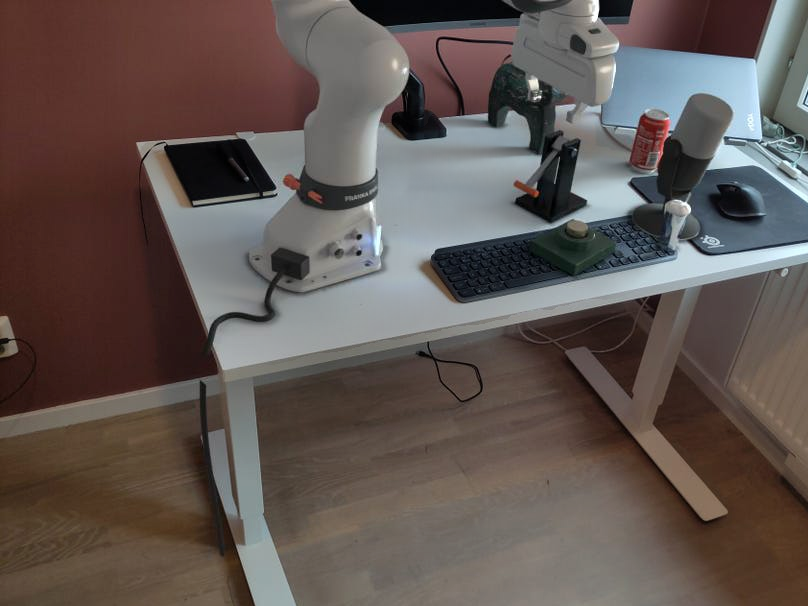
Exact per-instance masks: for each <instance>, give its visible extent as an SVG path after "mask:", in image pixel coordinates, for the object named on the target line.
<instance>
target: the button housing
mask: <svg viewBox="0 0 808 606" xmlns="http://www.w3.org/2000/svg"><path fill="white" fill-rule="evenodd" d="M572 220H575V219H574V218H572V219H570V220H568V221H566V222H564V223H562V224H560V225H557V226H556V227H554V228H552V229H550V230H548V231H546V232H544V233H542V234H540V235H538V236H537V237H535V238H532V239H531V240H530V244H529V250H528V251H529V252H530V253H532V254H533V255H536V256H538V257H539V258H542V260H545V261H546V262H549V263H550V264H551V265H554V267H557V268H558V269H560V270H562V271H564V272H566V273H567V274H569V275H571V276H573V277H575V276H577V275H578V274H580V273H582V272H584V271H585V270H587V269H588V268H590V267H592V266H594V265H595V264H597V263H599V262H601V261H603V260H604V259H606V258H607V257H609V256H611V255H613V254H614V253H615V251H616V247H617V241H616V240H614V239H612V238H609V237H608V236H606V235H604V234H602V233H600V232H599V231H597V230H595V229H593V228H591V227H589V226H588V229H587V234H586V237H585V238H584V239H576V238H571V237H570V236H568V235H566V228H567V223H568V222H569V221H572Z"/></svg>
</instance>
